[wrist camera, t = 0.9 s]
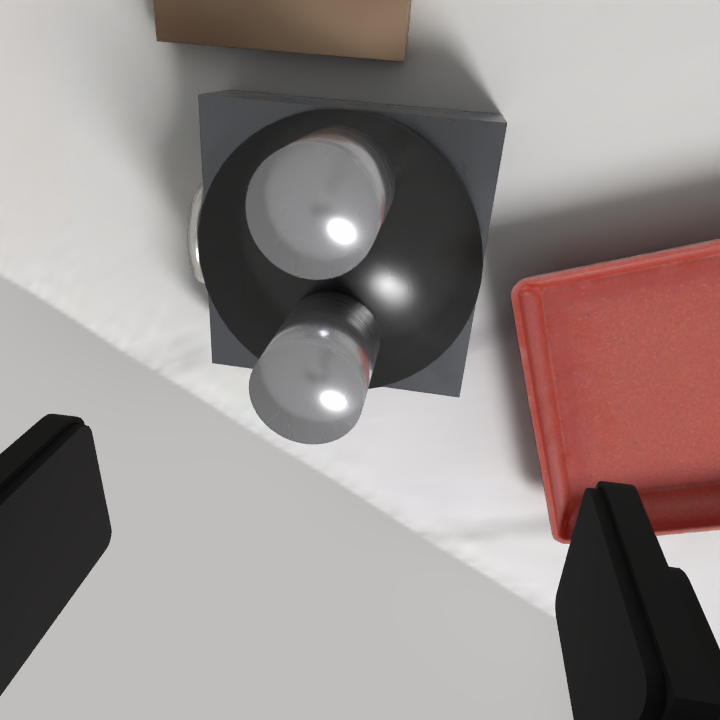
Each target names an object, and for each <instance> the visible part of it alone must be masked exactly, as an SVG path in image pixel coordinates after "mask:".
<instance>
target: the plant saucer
mask: <svg viewBox="0 0 720 720" xmlns="http://www.w3.org/2000/svg"><path fill="white" fill-rule="evenodd" d="M511 303H512V308H513V314H514V319H515V325H516V331H517V339H518V344H519V349H520V354H521V361H522V367H523V373H524V379H525V384H526V390H527V397H528V404H529V407H530V411H531V418H532V424H533V429H534V434H535V440H536V446H537V453H538V457H539V462H540V468H541V473H542V479H543V484H544V491H545V496H546V502H547V508H548V514H549V520H550V525H551V530H552V535H553V538H554V539H555V540H556V541H558V542H560V543H563V544H570V542H571V539H572V535H573V531H574V527H575V524H576V520H577V516H578V513H579V509H580V505H581V502H582V498H583V494H584V491H585V489H586V488H595V487H596V485H597V483H598V482H599V481H607V482H615V483H623V484H631V485H634V486H635V487H636V489H637V491H638V493H639V496H640V498H641V501H642V503H643V506H644V508H645V510H646V513H647V515H648V518H649V520H650V523H651V525H652V528H653V530H654V532H655V535H656V536H660V535H670V534H683V533H691V532H702V531H712V530H720V238H717V239H713V240H708V241H703V242H698V243H693V244H688V245H684V246H679V247H673V248H669V249H664V250H660V251H655V252H649V253H644V254H639V255H634V256H630V257H625V258H619V259H614V260H609V261H604V262H599V263H594V264H589V265H584V266H579V267H574V268H569V269H564V270H559V271H554V272H549V273H544V274H538V275H532V276H528V277H524V278H522V279H520V280H518V281H517V282H516V283H515V284H514V285H513V287H512V288H511Z"/></svg>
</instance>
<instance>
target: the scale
mask: <svg viewBox="0 0 720 720" xmlns="http://www.w3.org/2000/svg"><path fill="white" fill-rule="evenodd" d="M198 98H199V117H200V136H201V155H202V174H203V182H202V183H201V184H200V186H199V187H198V189H197V191H196V193H195V196H194V198H193V202H192V205H191V209H190V215H189V222H188V254H189V260H190V265H191V268H192V271H193V273H194V276H195V277H196V279H197V280H198V281H199V282H201V283H203V284H205V285H206V288H207V290H208V293H209V309H210V328H211V347H212V363H216V364H223V365H230V366H237V367H245V368H252V369H253V368H254V367H255V365H256V363H257V362H258V360H259V359H260V357H261V356H262V354H263V353H264V351H265V350H266V348H267V347H268V345H269V344H270V342H271V341H272V339H273V338H274V336H275V335H276V333H277V332H278V330H279V329H280V327H281V326H282V324H283V323H284V321H285V320H286V318H287V317H288V315H289V314H290V312H291V311H292V309H293V308H294V307H295V305H297V304H298V303H299V302H300V301H301V300H303V299H304V298H306V297H308V296H310V295H313V294H315V293H320V292H337V293H342V294H345V295H348V296H350V297H352V298H354V299H356V300H358V301H359V302H360V303H362V304H363V305H364V306H365V307H366V308H367V309H368V310H369V311H370V312H371V314H372V315H373V317H374V318H375V320H376V322H377V325H378V328H379V332H380V347H379V352H378V355H377V359H376V362H375V366H374V369H373V373H372V376H371V380H370V383H369V387H368V389H370V388H376V387H388V388H396V389H403V390H410V391H417V392H424V393H432V394H439V395H446V396H453V397H459V396H460V390H461V384H462V379H463V373H464V367H465V361H466V356H467V350H468V344H469V339H470V333H471V327H472V321H473V316H474V310H475V304H476V301H477V297H478V293H479V289H480V285H481V278H482V269H483V258H484V253H485V247H486V241H487V235H488V230H489V224H490V218H491V213H492V207H493V201H494V195H495V190H496V184H497V178H498V173H499V167H500V161H501V155H502V150H503V144H504V138H505V132H506V127H507V122H506V120H505V119H504V117H503V115H502V114H491V113H480V112H469V111H458V110H447V109H436V108H424V107H413V106H402V105H391V104H380V103H369V102H358V101H347V100H336V99H324V98H313V97H302V96H291V95H280V94H269V93H258V92H247V91H236V90H225V91H218V92H212V93H205V94H199V95H198ZM331 125H347V126H352V127H355V128H358V129H360V130H363V131H365V132H366V133H368V134H369V135H371V136H372V137H373V138H375V139H376V140H377V141H378V142H379V143H380V144H381V145H382V147H383V148H384V149H385V151H386V152H387V154H388V156H389V158H390V160H391V163H392V166H393V169H394V174H395V193H394V198H393V201H392V204H391V206H390V209H389V211H388V213H387V215H386V217H385V219H384V222H383V224H382V226H381V228H380V230H379V232H378V234H377V236H376V239H375V241H374V243H373V245H372V247H371V249H370V250H369V252H368V254H367V255H366V256H365V257H364V259H363V260H362V261H361V262H360V263H359V264H358V265H357V266H356V267H354V268H353V269H351V270H350V271H348V272H346V273H344V274H342V275H340V276H337V277H334V278H329V279H322V280H313V279H305V278H300V277H297V276H294V275H291V274H289V273H287V272H285V271H283V270H282V269H280V268H278V267H277V266H276V265H274V264H273V263H272V262H271V261H270V260H269V259H268V258H267V257H266V256H265V255H264V254H263V253H262V252H261V250H260V249H259V248H258V246H257V244H256V243H255V241H254V239H253V237H252V235H251V232H250V230H249V227H248V223H247V218H246V195H247V190H248V187H249V184H250V181H251V179H252V177H253V175H254V173H255V171H256V170H257V168H258V167H259V166H260V165H261V164H262V162H263V161H264V160H265V159H266V158H268V157H269V156H270V155H271V154H273V153H275V152H276V151H278V150H280V149H281V148H283V147H285V146H287V145H289V144H291V143H293V142H295V141H297V140H299V139H300V138H302V137H304V136H306V135H308V134H310V133H312V132H314V131H316V130H318V129H320V128H323V127H326V126H331Z"/></svg>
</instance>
